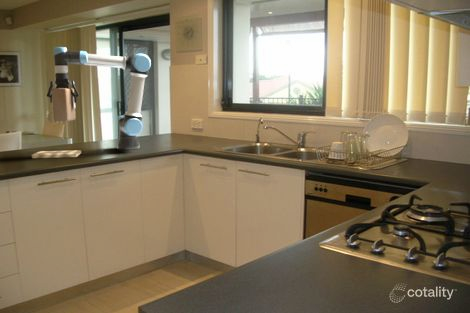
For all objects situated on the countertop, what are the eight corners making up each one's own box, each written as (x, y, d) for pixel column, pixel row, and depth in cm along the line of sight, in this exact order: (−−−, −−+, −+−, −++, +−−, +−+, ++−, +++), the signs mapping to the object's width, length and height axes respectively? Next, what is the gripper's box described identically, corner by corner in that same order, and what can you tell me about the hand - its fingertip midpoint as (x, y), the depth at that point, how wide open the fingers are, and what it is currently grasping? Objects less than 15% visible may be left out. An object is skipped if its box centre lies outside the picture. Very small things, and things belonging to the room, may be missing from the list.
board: (81, 153, 297) (80, 150, 296) (76, 157, 281) (76, 153, 281) (39, 154, 293) (38, 151, 292) (32, 158, 277) (31, 154, 277)
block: (67, 121, 278) (65, 88, 275) (53, 121, 280) (50, 88, 277) (76, 120, 288) (74, 88, 285) (62, 120, 290) (60, 88, 287)
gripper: (83, 72, 285) (85, 107, 289) (42, 73, 282) (45, 108, 285) (80, 72, 278) (82, 108, 281) (39, 72, 274) (42, 108, 278)
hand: (64, 108), depth 283 cm, fingers closed on block, 12 cm apart
